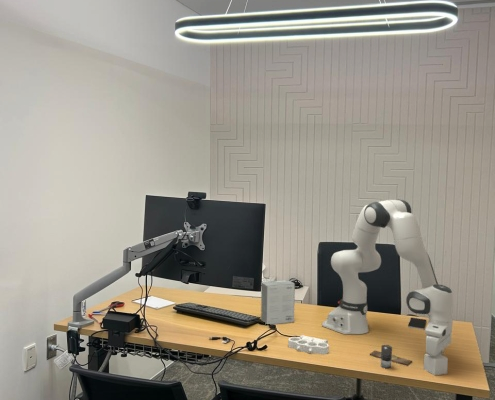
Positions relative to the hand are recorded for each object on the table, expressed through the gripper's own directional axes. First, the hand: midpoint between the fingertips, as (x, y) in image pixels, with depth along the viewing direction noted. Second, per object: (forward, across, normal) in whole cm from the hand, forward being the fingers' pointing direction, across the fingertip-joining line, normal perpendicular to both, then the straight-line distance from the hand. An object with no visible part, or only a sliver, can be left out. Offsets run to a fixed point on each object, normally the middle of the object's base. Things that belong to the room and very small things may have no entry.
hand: (438, 360), depth 189 cm
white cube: (+2, +6, +1) cm, 7 cm away
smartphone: (+3, -46, -25) cm, 52 cm away
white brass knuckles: (+3, +19, -48) cm, 52 cm away
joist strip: (+2, +6, -17) cm, 18 cm away
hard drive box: (+2, 0, -79) cm, 79 cm away
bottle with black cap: (+2, +16, -15) cm, 22 cm away
